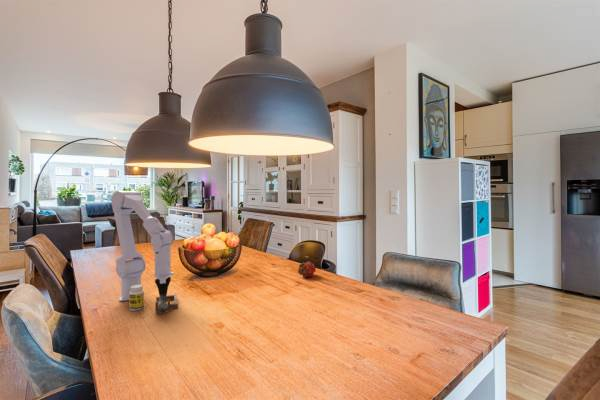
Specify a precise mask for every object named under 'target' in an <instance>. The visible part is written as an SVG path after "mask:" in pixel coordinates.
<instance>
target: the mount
mask: <svg viewBox="0 0 600 400" xmlns="http://www.w3.org/2000/svg"><path fill="white" fill-rule="evenodd" d="M172 300H173V303H171V301H172ZM166 301H167V305H168V309H167V310H166V311H165V312H159V311H158V305H159V296H156V297H155V302H154V303H155V309H154V310H155V314H156V315H157V314H164V313H170V312H171V310H174V309H178V308H179V305H178V304H179V303H178V295H177V294H170V295H168V294H167V295H166Z"/></svg>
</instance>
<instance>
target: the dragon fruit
mask: <svg viewBox="0 0 600 400" xmlns="http://www.w3.org/2000/svg"><path fill="white" fill-rule="evenodd" d="M314 264H315V263H312V262H311V261H305V262H302V263H300V264H298V266H299V267H298V271H297V272H298V273H299V275H301V276H302V277H303V278H305V277H307V278H308V277H309V278H313V277H314V274H315V272H316V270H317V269H316V266H315V265H314Z"/></svg>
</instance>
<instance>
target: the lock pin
mask: <svg viewBox="0 0 600 400" xmlns="http://www.w3.org/2000/svg"><path fill="white" fill-rule="evenodd" d="M166 296H167V295H166V294H160V295H159V296H158V297H159V301H158V311H159V312H164V313H166V312H165V311H166V310H167V309H168V305H167V304H168V300H166Z"/></svg>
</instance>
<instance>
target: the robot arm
mask: <svg viewBox="0 0 600 400" xmlns="http://www.w3.org/2000/svg"><path fill="white" fill-rule="evenodd" d="M110 201H111V208H112V212H113V213H114V220H115V224H116V226H115V227H116V229H117V236H118V241H119V246H120V253H121V254H120V255H119V256H118V257H117V258H116V260H115V272H116V274H117V276H118V278H120V281H121V287H120V288H121V289H120V290H121V293H120V294H121V296H120V297H119V299H118V301H119V302H124V301H129V293H130V292H131V291H130V287H131V286H134V285H142V275H143V273H144V271H145V270H146V267H147V264H146V261H145V259H144V256H143V254H142V253H140V252H139V251H137V248H136V242H135V237H134V232H133V227H132V221H131V216H130V214H131V213H132V212H135V213H136V214H137V215H138V217H139V218H140V219H141V220H142V222H143V223H142V226H143V228H144V229H145V231H146V232H147V234H148V235H149V236H150V238H151V239H150V243H151V246H152V250H153V253H154V275H153V277H154V284H155V285H156V287H157V289H158V290H157V291H158V295H159V296H160V294H166V296H168V289H169V285H170V283H171V281H172V278H171V276H174V275H175V272H174V271H172V266H171V265H172V262H171V261H172V259H171V257H172V255H171V252H172V250H171V245H172V244H173V243H174V241H175V236H174V233H173V232H172V231H171V230H167V229H166V228H165V227H164V225H163V224H162V223H161V222H160V220H159V218H158V217H156V216H152V215H151V213H150V212H149V209H148V208H147V207H146V205H145V203H144V196H143V195H142V194H141V192H140V191H139V190H115V191H114V192H113V194H112V196H111V197H110Z"/></svg>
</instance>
